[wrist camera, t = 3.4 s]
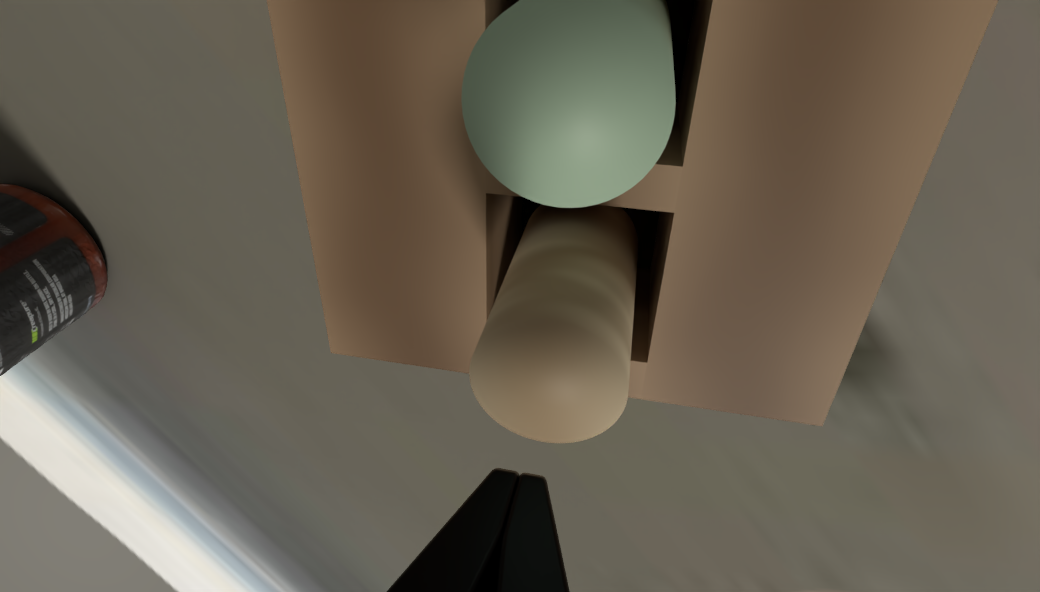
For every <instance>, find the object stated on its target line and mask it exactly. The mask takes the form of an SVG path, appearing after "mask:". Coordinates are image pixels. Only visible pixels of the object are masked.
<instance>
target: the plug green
mask: <svg viewBox="0 0 1040 592" xmlns="http://www.w3.org/2000/svg"><path fill="white" fill-rule="evenodd" d="M461 102H462V113H463V119H464V123H465V128H466V131H467V134H468V136H469V139H470V142H471V144H472V146H473V148H474V150H475V152H476V154H477V155H478V157H479V158H480V160H481V161H482V163H483V164H484V166H485V167H486V168H487V169H488V170H489V172H490V173H491V174H492V175H493V176H494V177H495V178H496V179H497V180H498V181H499V182H501V183H502V184H503V185H505V186H506V187H507V188H509V189H510V190H511V191H513V192H515V193H517V194H518V195H520V196H522V197H524V198H526V199H529V200H531V201H533V202H536V203H540V204H543V205H547V206H553V207H560V208H578V207H587V206H592V205H597V204H600V203H603V202H606V201H609V200H611V199H613V198H615V197H617V196H619V195H621V194H623V193H624V192H626V191H628V190H629V189H631V188H632V187H633V186H635V185H636V184H637V183H638V182H639V181H641V180H642V179H643V178H644V177H645V176H646V175H647V173H648V172H649V171H650V170H651V169H652V168H653V166H654V165H655V164H656V162H657V161H658V159H659V158H660V156H661V154H662V152H663V150H664V149H665V147H666V144H667V142H668V139H669V136H670V134H671V130H672V126H673V122H674V116H675V106H676V98H675V79H674V64H673V50H672V35H671V20H670V14H669V9H668V5H667V2H666V0H519V1H518V2H517V3H515V4H514V5H513V6H511V7H510V8H508V9H507V10H506V11H504V12H503V13H502V14H501V15H499V16H498V17H497V18H496V19H495V20H494V21H493V22H492V23H491V24H490V25H489V26H488V27H487V29H486V30H485V31H484V32H483V33H482V35H481V36H480V38H479V40H478V41H477V43H476V44H475V46H474V48H473V50H472V52H471V55H470V57H469V59H468V62H467V66H466V69H465V72H464V78H463V84H462V99H461Z"/></svg>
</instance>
